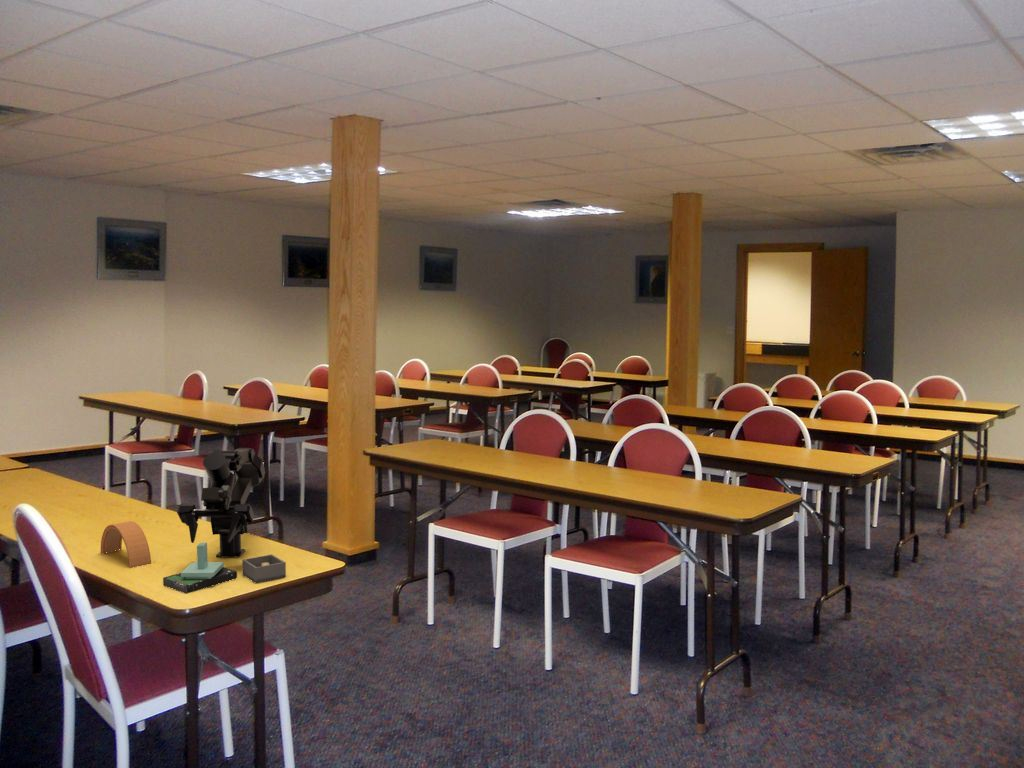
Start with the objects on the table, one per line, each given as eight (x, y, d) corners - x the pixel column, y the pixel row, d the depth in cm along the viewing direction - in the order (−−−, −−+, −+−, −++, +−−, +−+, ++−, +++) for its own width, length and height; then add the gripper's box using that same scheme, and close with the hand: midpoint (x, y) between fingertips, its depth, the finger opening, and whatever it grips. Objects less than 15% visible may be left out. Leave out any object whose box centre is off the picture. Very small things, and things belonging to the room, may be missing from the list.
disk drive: (213, 573, 230) (162, 587, 218) (213, 563, 230) (162, 576, 218) (237, 581, 224) (186, 596, 212) (237, 570, 224) (186, 584, 212)
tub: (242, 574, 227) (242, 559, 227) (272, 568, 232) (271, 554, 232) (255, 583, 220) (255, 568, 220) (285, 577, 225) (285, 562, 225)
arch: (129, 569, 232) (128, 532, 231) (100, 553, 246) (99, 519, 245) (151, 564, 236) (149, 528, 236) (121, 549, 250) (120, 515, 249)
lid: (192, 569, 225) (191, 539, 225) (224, 568, 226) (223, 539, 225) (180, 580, 216) (179, 549, 216) (213, 579, 217) (212, 549, 216)
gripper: (178, 474, 229) (165, 526, 219) (249, 474, 230) (240, 526, 220) (188, 497, 238) (176, 548, 228) (258, 496, 239) (248, 547, 229)
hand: (210, 542), depth 226 cm, fingers open, 9 cm apart
